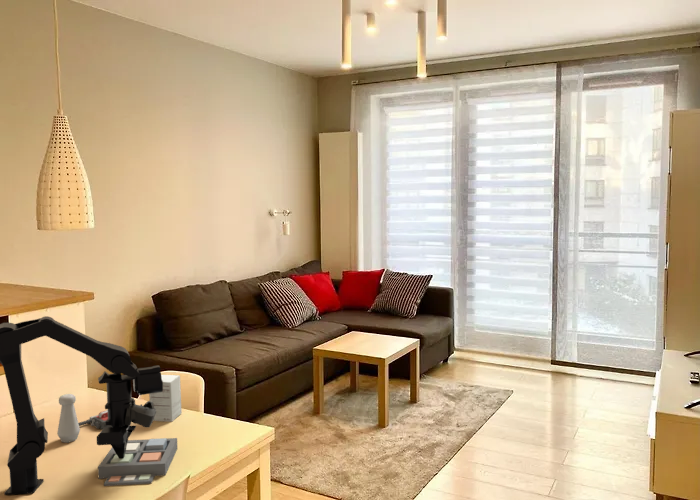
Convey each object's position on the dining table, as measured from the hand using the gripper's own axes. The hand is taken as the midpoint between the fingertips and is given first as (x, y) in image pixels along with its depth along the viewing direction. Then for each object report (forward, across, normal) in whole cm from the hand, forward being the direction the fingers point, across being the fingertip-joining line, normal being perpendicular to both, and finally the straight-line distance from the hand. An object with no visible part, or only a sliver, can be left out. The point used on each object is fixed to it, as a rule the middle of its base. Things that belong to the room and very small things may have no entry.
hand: (121, 458), depth 151 cm
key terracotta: (+2, 0, -7) cm, 7 cm away
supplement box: (+3, +36, -4) cm, 37 cm away
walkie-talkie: (+4, +33, +14) cm, 36 cm away
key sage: (+2, 0, 0) cm, 2 cm away
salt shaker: (+3, +22, +20) cm, 30 cm away
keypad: (+3, +2, -4) cm, 5 cm away
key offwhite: (+2, +7, 0) cm, 7 cm away
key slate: (+1, +7, -7) cm, 10 cm away
